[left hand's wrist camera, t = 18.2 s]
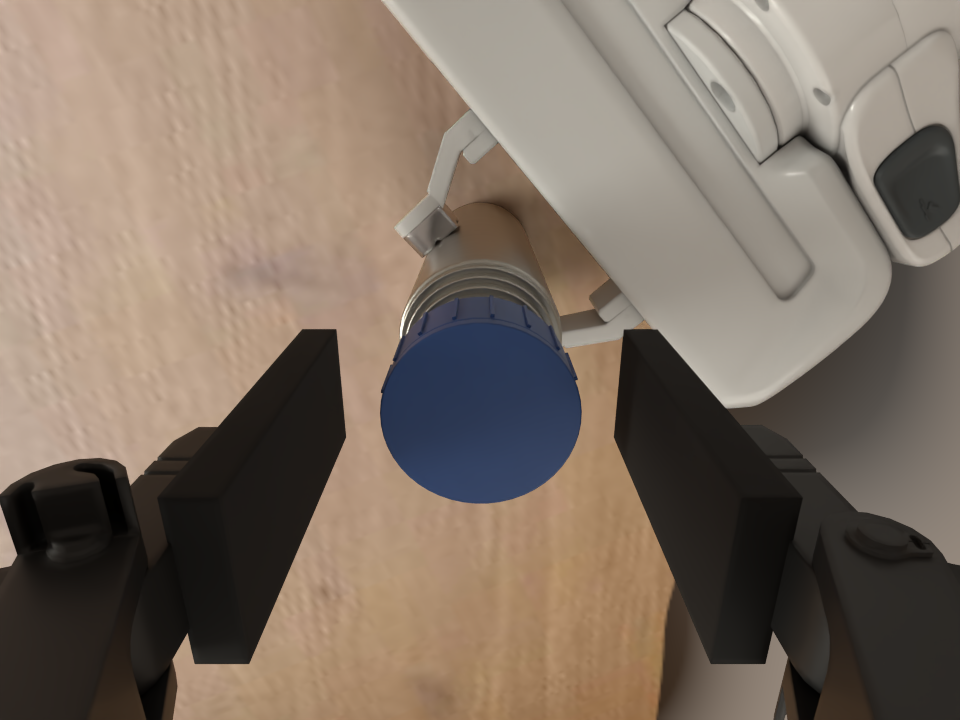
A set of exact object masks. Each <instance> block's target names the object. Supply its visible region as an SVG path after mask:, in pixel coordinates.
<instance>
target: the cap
mask: <svg viewBox="0 0 960 720" xmlns="http://www.w3.org/2000/svg"><path fill="white" fill-rule="evenodd" d="M393 361H394V362H393V365H390V368H389V371H388V373H387V376H386V379H385V381H384V384H383V387H382V389H381V393H383V394H382V399H381V408H380V418H381V427H382V431H383V436H384V439H385V441H386V444H387V447H388V449H389V451H390V452H391V454H392V456H393V458H394V459H395V461H396V462H397V463H398V465H399V466H400V467H401V469H402V470H403V471H404V472H405V473H406V474H407V475H408V476H409V477H410V478H412V479H413V480H414V481H415V482H417V483H418V484H419V485H421V486H422V487H424V488H426V489H427V490H429V491H431V492H433V493H435V494H437V495H439V496H442V497H445V498H448V499H451V500H456V501H460V502H466V503H495V502H502V501H506V500H510V499H514V498H517V497H519V496H522V495H525V494H527V493H529V492H531V491H533V490H535V489H536V488H538V487H539V486H541V485H542V484H544V483H545V482H546V481H548V480H549V479H550V478H551V477H552V476H554V475H555V474H556V472H557V471H558V470H559V469H560V468H561V467H562V466H563V464H564V463H565V462H566V460H567V459H568V457H569V456H570V454H571V452H572V450H573V448H574V446H575V443H576V441H577V438H578V435H579V430H580V425H581V413H582V410H581V399H580V395H579V391H578V387H577V385H576V382H575V380H578V379H577V376H576V373H575V370H574V368H573V365H572V363H571V360H570V357H569V355H568V353H565V352H564V350H563V347H562V345H561V343H560V341H559V339H558V338H557V336H556V334H555V332H554V329H553V327H552V326H551V325H550V326H548V325H547V324H546V323H545V322H544V321H543V320H542V319H541V318H540V317H539V316H537V315H536V314H534V313H533V312H532V311H530V310H528V309H527V306H526V305H523V306H521V305H518V304H516V303H513V302H511V301H507V300H503V299H499V298H494V297H493V295H490V297H469V298H462V299H458V298H455V299H454V301H451V302H448V303H446V304H443V305H441V306H439V307H437V308H435V309H433V310H432V311H430V312H428V313H427V312H425V313H423V317H422V318H421V319H419V320H418V321H417V322H416V323H415V324H414V325H413V326H412V328H411V329H410V330H409V332H408V333H407V334H406V336H404V335H403V336H402V337H401V339H400V342H399V345H398V347H397V350H396V353H395V355H394V358H393Z"/></svg>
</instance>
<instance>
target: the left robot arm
mask: <svg viewBox="0 0 960 720" xmlns="http://www.w3.org/2000/svg"><path fill="white" fill-rule="evenodd" d="M345 439H346V431H345V420H344V409H343V398H342V387H341V376H340V365H339V354H338V342H337V331H336V329H302V330H301V332H300V333H299V334H298V335H297V336H296V337H295V339H294V340H293V341H292V342H291V343H290V344H289V345H288V347H287V348H286V349H285V350H284V351H283V352H282V354H281V355H280V356H279V357H278V358H277V359H276V361H275V362H274V363H273V364H272V365H271V366H270V367H269V369H268V370H267V371H266V372H265V373H264V374H263V376H262V377H261V378H260V379H259V380H258V381H257V382H256V384H255V385H254V386H253V387H252V388H251V389H250V391H249V392H248V393H247V394H246V395H245V396H244V398H243V399H242V400H241V401H240V402H239V403H238V404H237V406H236V407H235V408H234V409H233V410H232V411H231V413H230V414H229V415H228V416H227V417H226V418H225V419H224V421H223V422H222V423H221V424H220V425H219V426H218V427H198V428H196V429H194V430H193V431H191V432H189V433H187V434H185V435H184V436H182V437H180V438H178V439H177V440H175V441H173V442H172V443H171V444H170V445H169V446H168V447H167V448H166V449H165V451H164V452H163V453H162V454H161V455H160V456H159V457H158V460H157V461H154V462H153V463H152V464H151V465H150V466H149V467H148V468H147V469H146V470H145V471H144V475H140V476H139V477H138V478H137V479H136V481H135V482H134V483H133V484H132V485H131V486H130V484H129V479H128V475H127V471H126V467H125V466H123V465H122V464H120V463H119V462H117V461H115V460H109V459H102V458H93V459H78V460H73V461H69V462H64V463H60V464H55V465H52V466H49V467H47V468H44V469H41V470H39V471H36V472H33V473H31V474H29V475H27V476H25V477H23V478H22V479H20V480H18V481H16V482H14V483H13V484H11V485H10V486H9V487H8V488H7V489H6V490H4V491H3V492H2V493H1V494H0V505H1V508H2V511H3V514H4V516H5V519H6V522H7V525H8V528H9V531H10V534H11V537H12V540H13V543H14V546H15V549H16V552H17V557H16V559H15V561H14V562H13V564H12V566H9V567H5V568H0V720H173V714H174V707H175V700H176V693H177V679H176V672H175V668H174V664H173V660H172V659H173V657H174V656H175V654H176V652H177V650H178V649H179V647H180V645H181V643H182V642H183V640H184V638H185V636H186V635H187V633H188V636H189V641H190V645H191V650H192V654H193V659H194V663H195V664H249V663H250V661H251V658H252V656H253V654H254V651H255V649H256V647H257V644H258V642H259V640H260V637H261V635H262V633H263V630H264V628H265V626H266V623H267V621H268V619H269V616H270V614H271V612H272V609H273V607H274V605H275V602H276V600H277V598H278V595H279V593H280V591H281V588H282V586H283V584H284V581H285V579H286V577H287V574H288V572H289V570H290V567H291V565H292V562H293V560H294V558H295V555H296V553H297V551H298V548H299V546H300V544H301V541H302V539H303V537H304V534H305V532H306V530H307V527H308V525H309V523H310V520H311V518H312V516H313V513H314V511H315V509H316V506H317V504H318V502H319V499H320V497H321V495H322V492H323V490H324V488H325V485H326V483H327V481H328V478H329V476H330V474H331V471H332V469H333V467H334V464H335V462H336V460H337V457H338V455H339V453H340V450H341V448H342V446H343V443H344V441H345ZM614 439H615V441H616V443H617V446H618V448H619V450H620V453H621V455H622V457H623V460H624V462H625V464H626V467H627V469H628V471H629V474H630V476H631V478H632V481H633V483H634V485H635V488H636V490H637V492H638V495H639V497H640V499H641V502H642V504H643V506H644V509H645V511H646V513H647V516H648V518H649V520H650V523H651V525H652V527H653V530H654V532H655V534H656V537H657V539H658V541H659V544H660V546H661V548H662V551H663V553H664V555H665V558H666V560H667V562H668V565H669V567H670V570H671V572H672V574H673V577H674V579H675V581H676V584H677V586H678V588H679V590H680V593H681V595H682V598H683V600H684V602H685V605H686V607H687V609H688V612H689V614H690V616H691V619H692V621H693V623H694V626H695V628H696V630H697V632H698V635H699V637H700V640H701V642H702V644H703V647H704V649H705V651H706V654H707V656H708V658H709V661H710V663H711V664H765V663H766V658H767V654H768V650H769V645H770V641H771V636H772V632H773V631H774V633H775V635H776V637H777V638H778V640H779V642H780V644H781V645H782V647H783V649H784V650H785V652H786V654H787V656H788V660H787V664H786V668H785V672H784V676H783V680H782V685H781V689H780V693H779V697H778V701H777V705H776V709H775V713H774V720H784V718H785V715H786V714H787V719H788V720H960V565H955V564H950V563H947V561H946V559H945V558H944V556H943V554H942V553H941V552H940V551H939V550H938V548H937V547H936V546H935V545H934V544H933V543H932V542H931V541H930V540H929V539H927V538H926V537H924V536H923V535H921V534H920V533H918V532H917V531H915V530H914V529H912V528H910V527H908V526H906V525H903V524H901V523H899V522H896V521H894V520H892V519H889V518H885V517H881V516H878V515H874V514H870V513H863V512H858V511H857V510H856V509H855V508H854V507H853V506H852V505H851V504H850V503H849V502H848V501H847V500H846V499H845V498H844V497H843V496H842V495H841V494H840V493H839V492H838V491H837V490H836V489H835V488H834V487H833V486H832V485H831V484H830V483H829V482H828V481H827V480H826V479H825V478H824V477H823V476H822V475H821V474H820V473H816V468H815V467H814V466H813V465H812V464H811V463H810V462H809V461H808V460H807V459H803V455H802V454H801V453H800V452H799V451H798V450H797V449H796V448H795V447H794V446H793V445H792V444H791V443H790V442H789V441H788V440H787V439H786V438H784V437H782V436H781V435H779V434H777V433H775V432H773V431H772V430H770V429H768V428H766V427H764V426H762V425H740V424H739V423H738V422H737V421H736V420H735V418H734V417H733V416H732V415H731V414H730V413H729V411H728V410H727V409H726V408H725V407H724V406H723V404H722V403H721V402H720V401H719V400H718V399H717V398H716V396H715V395H714V394H713V393H712V392H711V391H710V389H709V388H708V387H707V386H706V385H705V384H704V382H703V381H702V380H701V379H700V378H699V377H698V376H697V374H696V373H695V372H694V371H693V370H692V369H691V367H690V366H689V365H688V364H687V363H686V362H685V361H684V359H683V358H682V357H681V356H680V355H679V354H678V352H677V351H676V350H675V349H674V348H673V347H672V345H671V344H670V343H669V342H668V341H667V340H666V339H665V337H664V336H663V335H662V334H661V333H660V332H659V330H658V329H624V331H623V342H622V354H621V365H620V376H619V387H618V398H617V409H616V420H615V431H614Z"/></svg>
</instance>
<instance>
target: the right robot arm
mask: <svg viewBox="0 0 960 720" xmlns="http://www.w3.org/2000/svg"><path fill="white" fill-rule="evenodd" d="M381 1H382V2H383V4H384V5H385V6H386V7H387V8H388V10H389V11H390V12H391V13H392V15H393V16H394V17H395V18H396V19H397V21H398V22H399V23H400V24H401V26H402V27H403V28H404V29H405V30H406V32H407V33H408V34H409V35H410V36H411V38H412V39H413V40H414V41H415V43H416V44H417V45H418V46H419V47H420V49H421V50H422V51H423V52H424V53H425V55H426V56H427V57H428V58H429V60H430V61H431V62H432V63H433V64H434V65H435V66H436V67H437V68H438V70H439V71H440V72H441V73H442V75H443V76H444V77H445V78H446V79H447V81H448V82H449V83H450V84H451V85H452V87H453V88H454V89H455V90H456V92H457V93H458V94H459V95H460V96H461V98H462V99H463V100H464V101H465V102H466V104H467V105H468V106H469V107H470V109H469V110H468V111H467V112H466V113H465V114H464V115H463V116H462V117H461V118H460V119H459V120H458V121H457V122H456V123H455V124H454V125H453V126H452V127H451V128H450V129H448V130H447V131H446V132H445V133H444V136H443V139H442V142H441V146H440V149H439V153H438V156H437V159H436V163H435V166H434V170H433V173H432V176H431V180H430V183H429V186H428V190H427V192H428V193H429V194H428V195H426V196H425V197H424V198H423V199H422V200H421V201H420V202H419V203H418V204H417V205H416V206H415V207H414V208H413V209H412V210H411V211H409V212H408V213H407V214H406V215H405V216H404V217H403V218H402V219H401V220H400V221H399V222H398V223H397V225H396V226H395V227H394V229H395V230H396V231H397V232H398V233H399V235H400V236H401V237H402V238H403V239H404V240H405V241H406V242H407V243H408V244H409V245H410V246H411V247H412V248H413V249H414V250H415V251H416V252H417V253H418V254H419V255H420V256H421V257H422V258H423V257H424V256H426V255H427V254H428V253H429V252H430V251H431V250H432V249H433V248H434V247H435V244H436V241H437V240H443V239H444V238H445V237H447V236H448V235H449V234H450V233H451V232H452V231H453V230H454V229H456V228H457V226H458V222H459V219H458V218H457V217H456V215H455V214H454V213H453V212H452V211H451V210H450V208H449V207H448V206H447V205H446V204H445V202H446V199H447V195H448V192H449V189H450V186H451V183H452V179H453V176H454V173H455V170H456V167H457V164H458V160H459V157H460V154H461V152H462V151H463V156H464V157H465V158H466V159H467V160H468V161H469V163H470V164H475V163H476V162H477V161H478V160H480V159H481V158H482V157H483V156H484V155H485V154H486V153H487V152H488V151H490V150H491V149H492V148H493V147H494V146H495V145H496V144H497V143H498V142H499V144H500V145H501V146H502V147H503V149H504V150H505V151H506V152H507V153H508V155H509V156H510V157H511V158H512V159H513V161H514V162H515V163H516V164H517V166H518V167H519V168H520V169H521V170H522V172H523V173H524V174H525V175H526V176H527V178H528V179H529V180H530V181H531V182H532V184H533V185H534V186H535V187H536V189H537V190H538V191H539V192H540V193H541V195H542V196H543V197H544V198H545V199H546V201H547V202H548V203H549V204H550V206H551V207H552V208H553V209H554V210H555V212H556V213H557V214H558V215H559V216H560V218H561V219H562V220H563V221H564V223H565V224H566V225H567V226H568V227H569V229H570V230H571V231H572V232H573V233H574V235H575V236H576V237H577V238H578V240H579V241H580V242H581V243H582V244H583V246H584V247H585V248H586V249H587V250H588V252H589V253H590V254H591V255H592V256H593V258H594V259H595V260H596V261H597V263H598V264H599V265H600V266H601V267H602V269H603V270H604V271H605V272H606V273H607V275H608V276H609V277H610V279H609V280H608V281H606V282H605V283H604V284H603V285H602V286H600V287H599V288H598V289H597V290H596V291H594V292H593V293H592V294H591V295H590V297H589V300H590V301H591V303H592V305H593V306H594V308H595V309H592V310H587V311H583V312H578V313H574V314H569V315H564V316H560V321H561V326H562V347H564V346H565V347H566V348H571V347H577V346H583V345H589V344H595V343H601V342H607V341H614V340H619V339H620V338H622V337H623V331H624V329H633V328H634V327H636V326H637V325H638V324H640V323H641V322H642V321H644V320H645V321H646V322H647V323H648V324H649V326H650V327H651V328H652V329H658V330H659V332H660V333H661V334H662V335H663V336H664V337H665V339H666V340H667V341H668V342H669V343H670V344H671V345H672V347H673V348H674V349H675V350H676V351H677V352H678V354H679V355H680V356H681V357H682V358H683V359H684V361H685V362H686V363H687V364H688V365H689V366H690V367H691V369H692V370H693V371H694V372H695V373H696V374H697V376H698V377H699V378H700V379H701V380H702V381H703V382H704V384H705V385H706V386H707V387H708V388H709V389H710V391H711V392H712V393H713V394H714V395H715V396H716V398H717V399H718V400H719V401H720V402H721V403H722V404H723V406H724V407H725V408H740V407H751V406H755V405H758V404H760V403H762V402H764V401H765V400H767V399H769V398H770V397H772V396H774V395H775V394H777V393H778V392H780V391H781V390H783V389H784V388H785V387H787V386H788V385H790V384H791V383H792V382H794V381H795V380H797V379H798V378H799V377H801V376H802V375H803V374H805V373H806V372H807V371H809V370H810V369H811V368H813V367H814V366H815V365H816V364H818V363H819V362H820V361H822V360H823V359H824V358H825V357H827V356H828V355H829V354H830V353H832V352H833V351H834V350H835V349H837V348H838V347H839V346H840V345H841V344H843V343H844V342H845V341H846V340H847V339H848V338H850V337H851V336H852V335H853V334H854V333H855V332H856V331H858V330H859V329H860V328H861V327H862V326H863V325H864V324H865V323H866V322H867V321H868V320H869V319H870V318H871V317H872V316H873V314H874V313H875V312H876V311H877V309H878V308H879V307H880V305H881V304H882V302H883V300H884V298H885V297H886V295H887V292H888V290H889V286H890V283H891V278H892V265H891V262H896V263H900V264H905V265H910V266H916V267H922V266H927V265H930V264H932V263H934V262H936V261H938V260H939V259H941V258H943V257H944V256H946V255H947V254H949V253H950V252H951V251H953V250H954V249H955V248H957V247H958V246H959V245H960V112H959V59H960V0H381Z"/></svg>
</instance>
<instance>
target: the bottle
mask: <svg viewBox="0 0 960 720" xmlns="http://www.w3.org/2000/svg"><path fill="white" fill-rule="evenodd" d="M453 213H454V214H455V215H456V217H457V218H458V219H459V222H458V226H457V228H456V229H454V230H453V231H452V232H451V233H450V234H449V235H448V236H447V237H445V238H444V239H443V240H437V241H436V244H435V247H434V248H433V249H432V250H431V251H430V252H429V253H428V254H427V256H426V258H425V261H424V263H423V265H422V268H421V270H420V273H419V275H418V278H417V280H416V282H415V285H414V287H413V290H412V292H411V295H410V297H409V300H408V302H407V304H406V307H405V310H404V312H403V315H402V319H401V323H400V333H399V338H400V339H401V337H402V336H403V335H404V336H406V334H407V333H408V332H409V330H410V329H411V328H412V326H413V325H414V324H415V323H416V322H417V321H418V320H419V319H421V318H422V317H423V313H425V312H427V313H428V312H430V311H432V310H433V309H435V308H437V307H439V306H441V305H443V304H446V303H448V302H451V301H454V299H455V298H458V299H462V298H469V297H490V295H493V297H494V298H499V299H503V300H507V301H511V302H513V303H516V304H518V305H521V306H523V305H526V306H527V309H528V310H530V311H532V312H533V313H534V314H536V315H537V316H539V317H540V318H541V319H542V320H543V321H544V322H545V323H546V324H547V325H548V326H550V325H551V326H552V327H553V329H554V332H555V334H556V336H557V338H558V339H559V341H560V343H561V345H562V326H561V321H560V317H559V313H558V311H557V308H556V305H555V303H554V301H553V298H552V296H551V293H550V291H549V288H548V286H547V284H546V281H545V279H544V276H543V274H542V271H541V269H540V267H539V264H538V262H537V259H536V257H535V255H534V252H533V250H532V247H531V245H530V242H529V240H528V238H527V235H526V233H525V230H524V229H523V227H522V225H521V223H520V222H519V221H518V219H517V218H516V217H515V216H514V215H513V214H511V213H510V212H509V211H507V210H506V209H504V208H502V207H500V206H497V205H494V204H491V203H471V204H467V205H464V206H462V207H459V208H457V209H456V210H454V211H453Z"/></svg>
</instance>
